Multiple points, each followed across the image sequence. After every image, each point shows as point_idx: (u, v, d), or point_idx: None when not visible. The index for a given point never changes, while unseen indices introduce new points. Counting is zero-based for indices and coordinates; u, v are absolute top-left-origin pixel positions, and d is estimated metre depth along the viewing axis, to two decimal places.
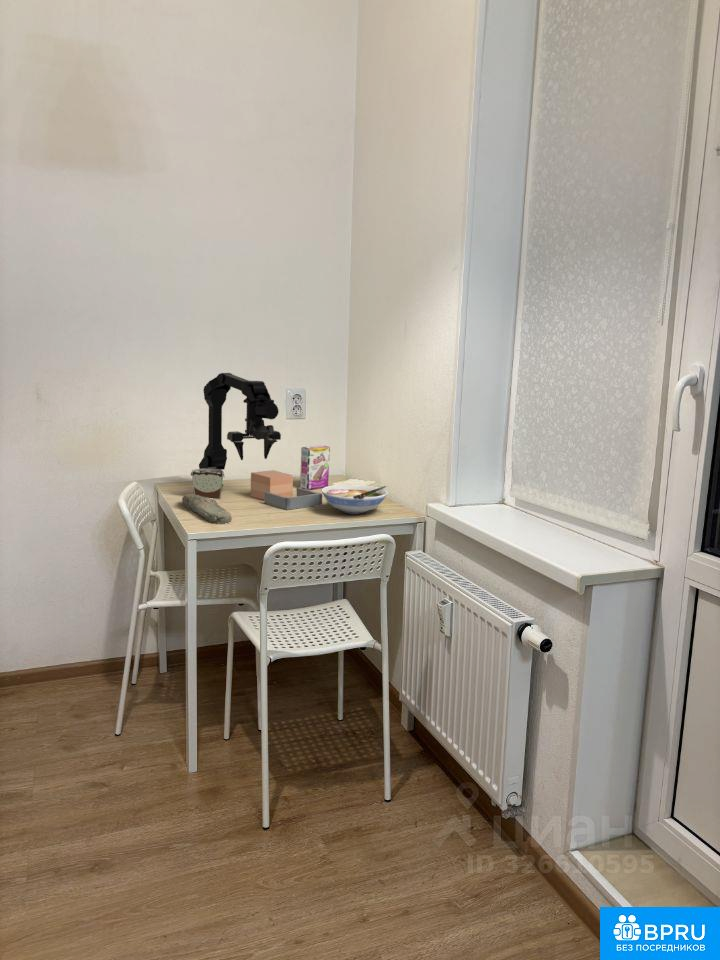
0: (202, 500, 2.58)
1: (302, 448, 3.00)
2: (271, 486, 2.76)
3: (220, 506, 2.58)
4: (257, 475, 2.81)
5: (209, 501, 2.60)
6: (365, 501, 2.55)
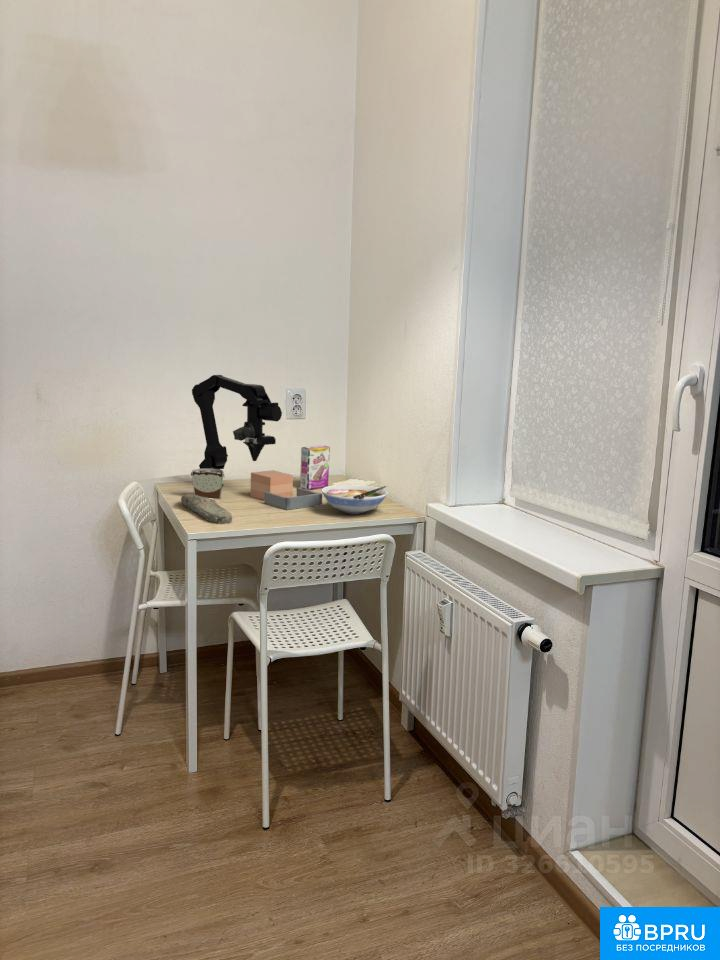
0: (201, 500, 2.58)
1: (302, 448, 3.00)
2: (271, 486, 2.76)
3: None
4: (257, 475, 2.81)
5: (208, 501, 2.59)
6: (365, 501, 2.55)
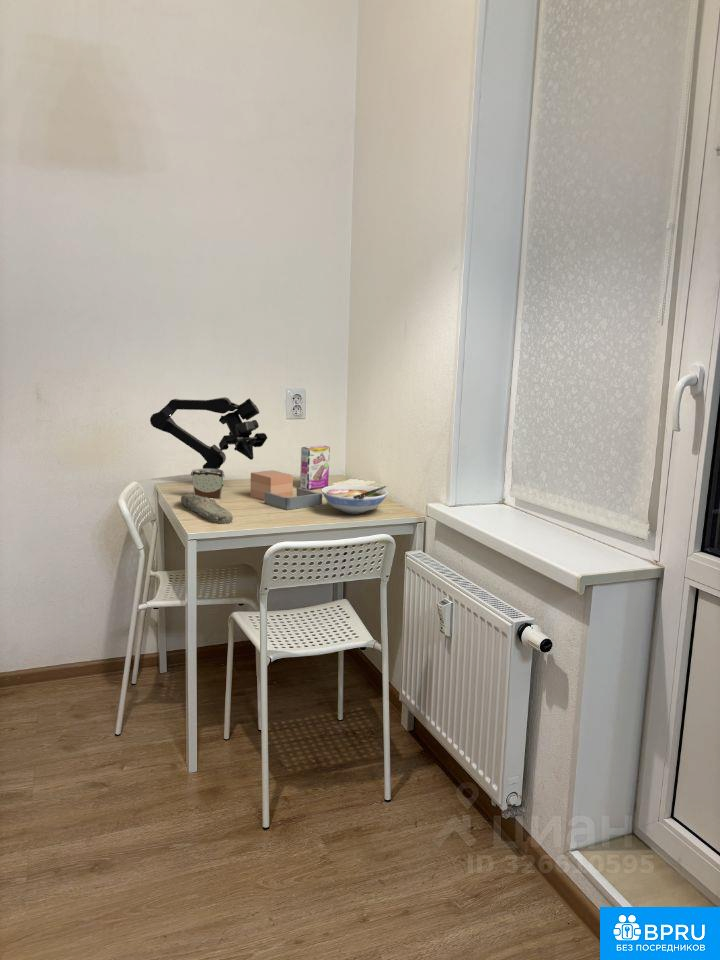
0: (202, 500, 2.58)
1: (302, 448, 3.00)
2: (272, 486, 2.76)
3: (220, 506, 2.58)
4: (257, 475, 2.81)
5: (208, 501, 2.60)
6: (365, 501, 2.55)
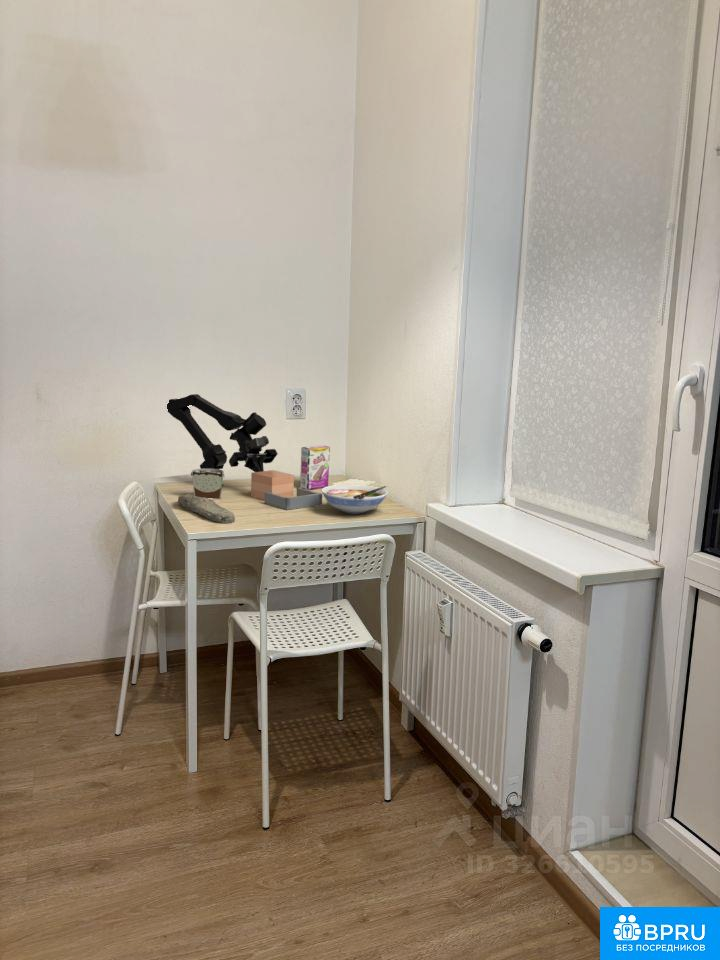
0: (201, 500, 2.58)
1: (302, 448, 3.00)
2: (273, 486, 2.76)
3: (219, 506, 2.58)
4: (258, 475, 2.80)
5: (207, 501, 2.60)
6: (365, 501, 2.55)
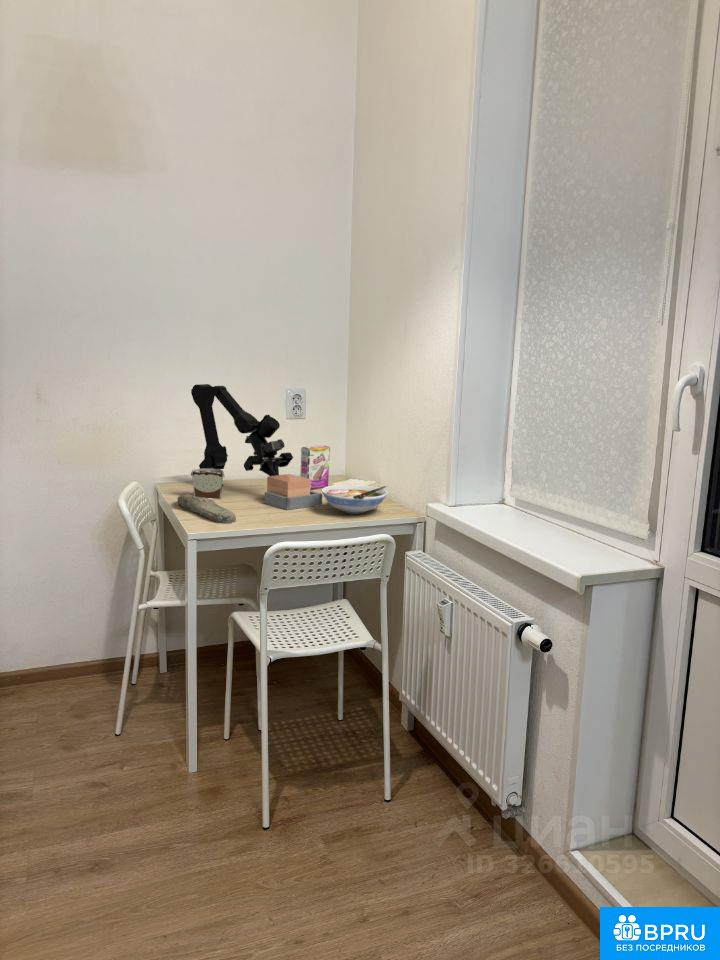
0: (201, 500, 2.58)
1: (302, 448, 3.00)
2: (289, 490, 2.69)
3: (219, 506, 2.59)
4: (274, 479, 2.73)
5: (207, 501, 2.60)
6: (365, 501, 2.55)
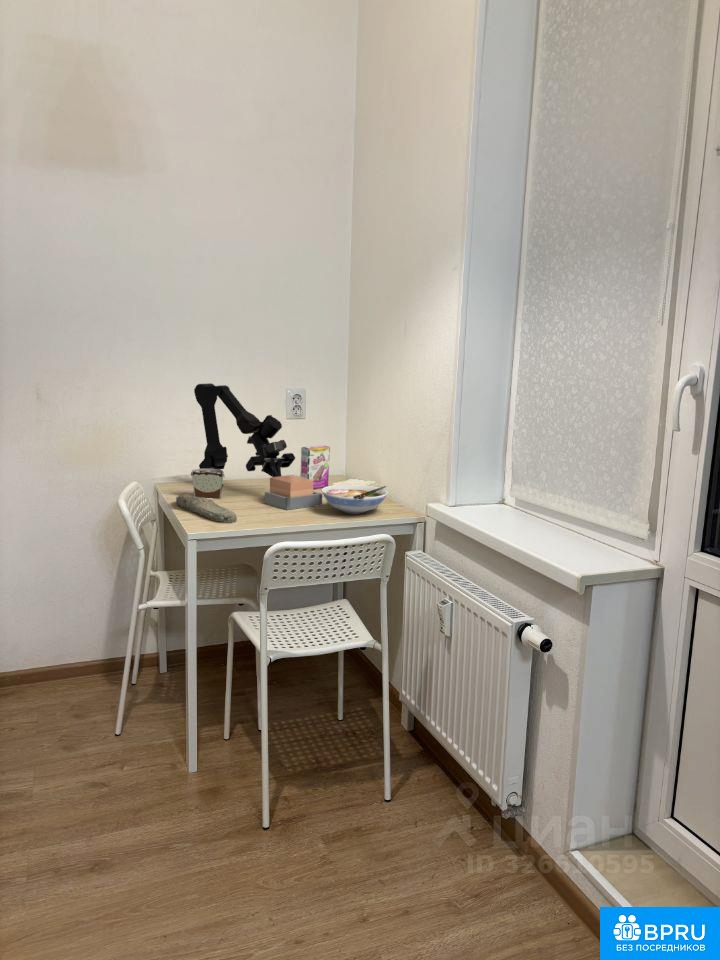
0: (200, 500, 2.58)
1: (302, 448, 3.00)
2: (291, 492, 2.67)
3: None
4: (276, 480, 2.72)
5: (207, 501, 2.60)
6: (365, 501, 2.55)
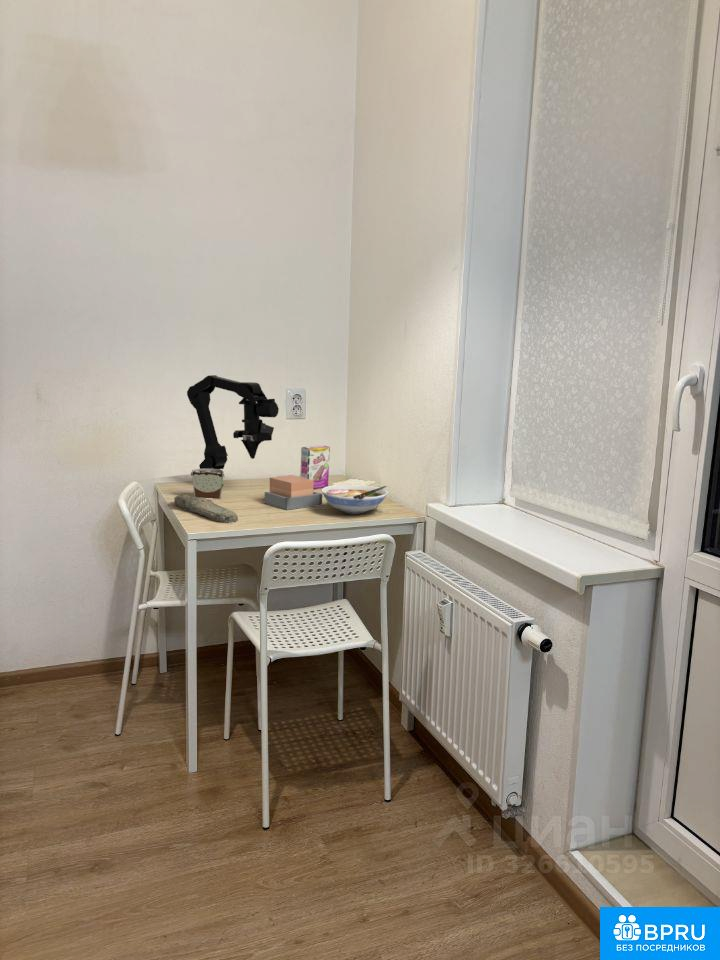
0: (199, 500, 2.58)
1: (302, 448, 3.00)
2: (292, 492, 2.67)
3: None
4: (277, 480, 2.72)
5: (206, 501, 2.60)
6: (365, 501, 2.55)
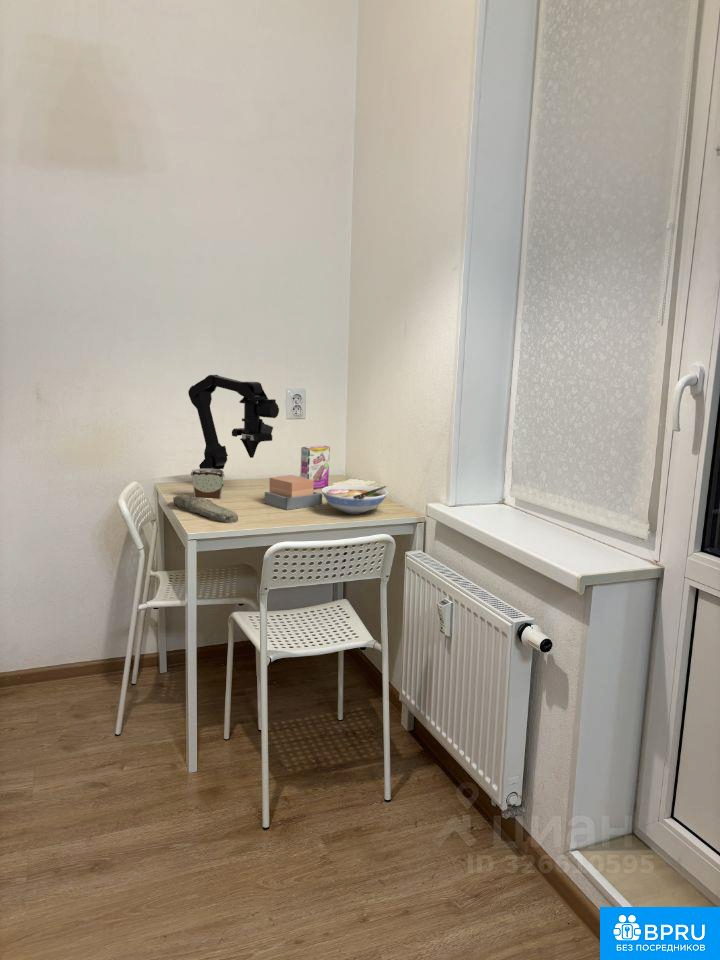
0: (199, 500, 2.58)
1: (302, 448, 3.00)
2: (293, 492, 2.67)
3: None
4: (277, 480, 2.72)
5: (205, 501, 2.60)
6: (365, 501, 2.55)
